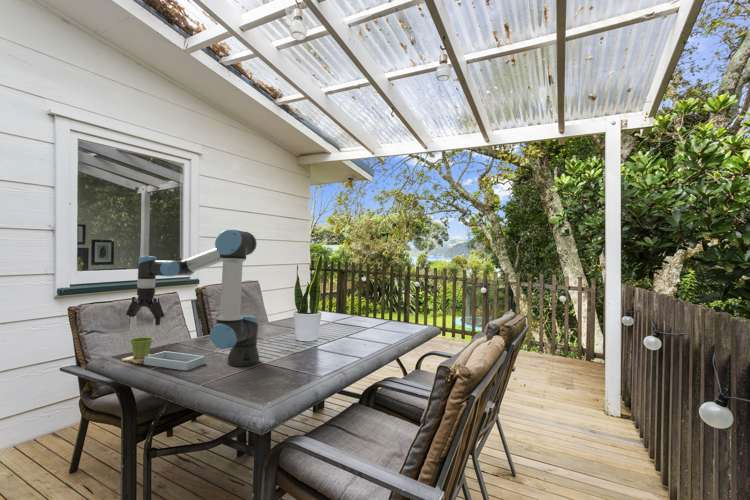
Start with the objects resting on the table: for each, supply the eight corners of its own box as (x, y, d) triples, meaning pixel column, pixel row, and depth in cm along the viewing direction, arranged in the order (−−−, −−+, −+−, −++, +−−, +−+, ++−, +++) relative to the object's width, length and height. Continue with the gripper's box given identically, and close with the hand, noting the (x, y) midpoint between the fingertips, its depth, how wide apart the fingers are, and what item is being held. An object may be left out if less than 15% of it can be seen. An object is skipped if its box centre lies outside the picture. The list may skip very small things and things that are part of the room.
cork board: (160, 357, 184) (161, 355, 184) (141, 363, 173) (141, 361, 173) (141, 355, 187) (142, 353, 187) (121, 361, 176) (121, 358, 176)
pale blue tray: (204, 363, 178) (205, 356, 178) (186, 370, 167) (187, 362, 167) (164, 358, 184) (164, 351, 184) (143, 364, 172) (144, 356, 172)
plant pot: (141, 360, 174) (142, 342, 175) (124, 358, 176) (125, 340, 176) (156, 355, 184) (157, 338, 184) (140, 354, 185) (141, 336, 186)
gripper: (173, 288, 181) (171, 331, 181) (132, 285, 187) (130, 327, 187) (161, 289, 174) (159, 334, 173) (118, 286, 180) (116, 330, 179)
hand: (144, 331), depth 180 cm, fingers open, 13 cm apart
